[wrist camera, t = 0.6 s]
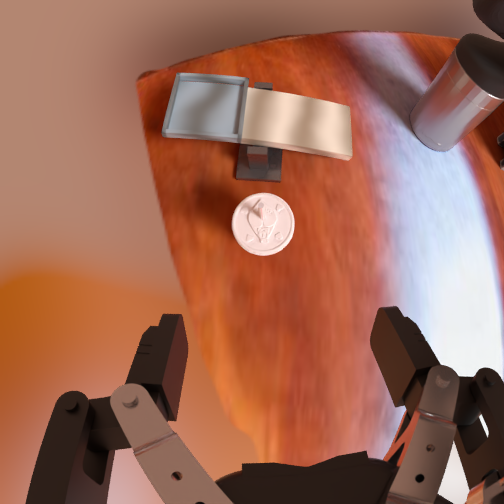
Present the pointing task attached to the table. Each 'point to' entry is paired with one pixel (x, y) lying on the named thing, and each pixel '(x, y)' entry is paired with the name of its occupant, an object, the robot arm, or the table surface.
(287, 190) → the table surface
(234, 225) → the smoothie
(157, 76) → the table surface
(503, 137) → the decorative book
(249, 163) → the pivot stand
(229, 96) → the balance beam
